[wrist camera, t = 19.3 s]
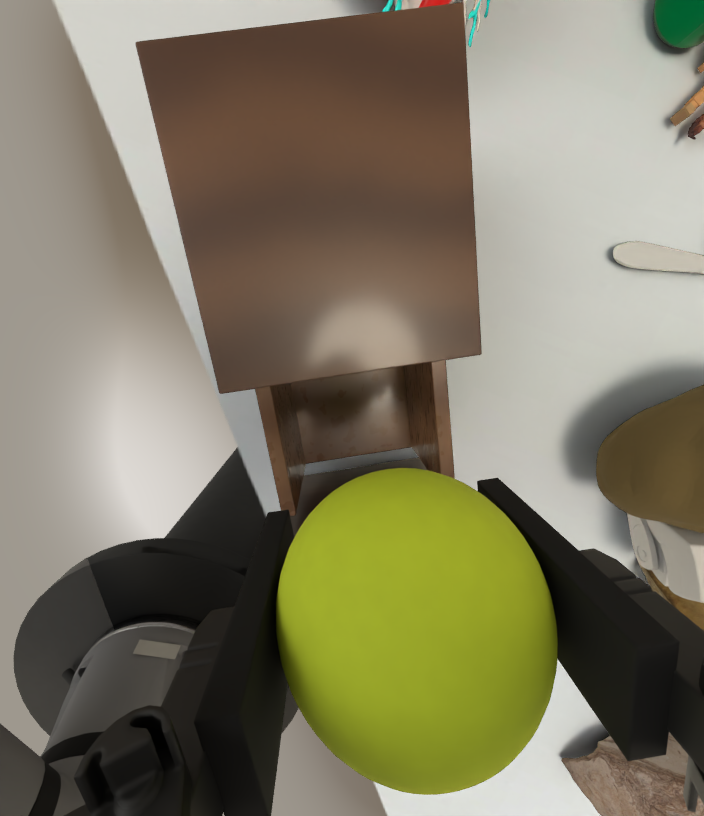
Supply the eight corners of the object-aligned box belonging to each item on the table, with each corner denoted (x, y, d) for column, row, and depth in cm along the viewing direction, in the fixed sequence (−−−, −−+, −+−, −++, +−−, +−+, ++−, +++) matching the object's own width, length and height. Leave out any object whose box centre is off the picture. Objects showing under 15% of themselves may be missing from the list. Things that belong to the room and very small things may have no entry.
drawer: (435, 523, 29) (478, 604, 21) (304, 545, 29) (293, 636, 20) (415, 315, 25) (459, 307, 17) (262, 337, 25) (226, 341, 16)
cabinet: (422, 345, 27) (482, 354, 16) (263, 369, 26) (219, 394, 16) (404, 148, 23) (464, 1, 13) (223, 172, 23) (134, 40, 13)
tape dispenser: (683, 494, 31) (802, 531, 22) (688, 565, 31) (811, 634, 21) (612, 494, 33) (694, 529, 23) (617, 563, 32) (702, 627, 23)
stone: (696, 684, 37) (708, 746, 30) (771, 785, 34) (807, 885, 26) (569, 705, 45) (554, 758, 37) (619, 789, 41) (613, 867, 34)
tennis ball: (310, 615, 13) (283, 917, 6) (277, 451, 12) (195, 622, 5) (483, 589, 13) (637, 858, 7) (475, 423, 12) (667, 550, 5)
